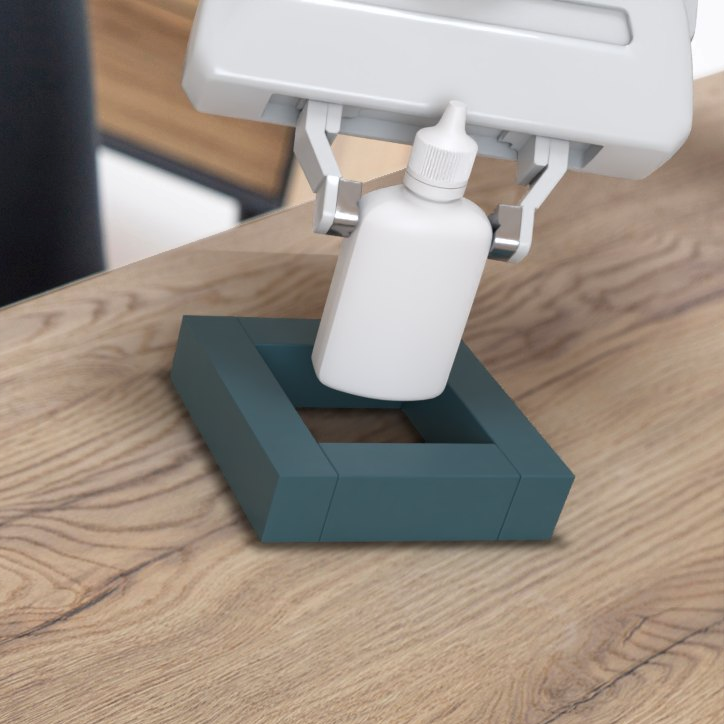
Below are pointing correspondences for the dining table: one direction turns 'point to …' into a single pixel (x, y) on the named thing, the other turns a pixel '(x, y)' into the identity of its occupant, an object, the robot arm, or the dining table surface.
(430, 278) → the eye dropper bottle
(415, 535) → the frame
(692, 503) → the dining table surface
